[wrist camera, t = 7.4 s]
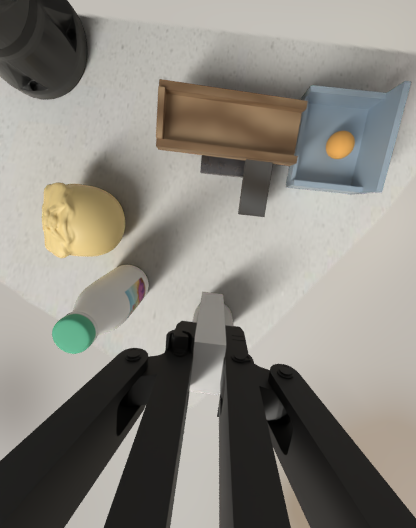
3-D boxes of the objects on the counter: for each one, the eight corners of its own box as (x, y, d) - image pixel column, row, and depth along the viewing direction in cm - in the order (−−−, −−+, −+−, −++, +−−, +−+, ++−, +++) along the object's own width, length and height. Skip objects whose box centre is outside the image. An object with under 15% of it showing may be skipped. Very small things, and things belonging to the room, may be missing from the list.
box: (351, 194, 42) (381, 192, 35) (285, 187, 42) (300, 183, 35) (372, 105, 39) (411, 81, 31) (301, 98, 39) (321, 72, 31)
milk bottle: (102, 285, 48) (25, 341, 29) (124, 255, 47) (58, 293, 27) (134, 309, 49) (80, 378, 30) (157, 280, 47) (116, 333, 28)
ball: (316, 147, 40) (327, 141, 36) (336, 128, 40) (350, 120, 36) (331, 166, 41) (344, 162, 37) (350, 148, 40) (366, 142, 36)
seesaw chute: (280, 218, 40) (287, 219, 37) (155, 205, 38) (152, 205, 35) (300, 107, 36) (309, 99, 33) (161, 87, 34) (159, 77, 31)
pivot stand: (247, 178, 42) (250, 175, 38) (200, 173, 42) (198, 169, 38) (257, 99, 40) (262, 86, 35) (208, 94, 40) (207, 81, 35)
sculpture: (67, 182, 44) (19, 175, 33) (134, 192, 44) (107, 188, 33) (67, 245, 47) (23, 257, 36) (129, 254, 46) (104, 269, 36)
